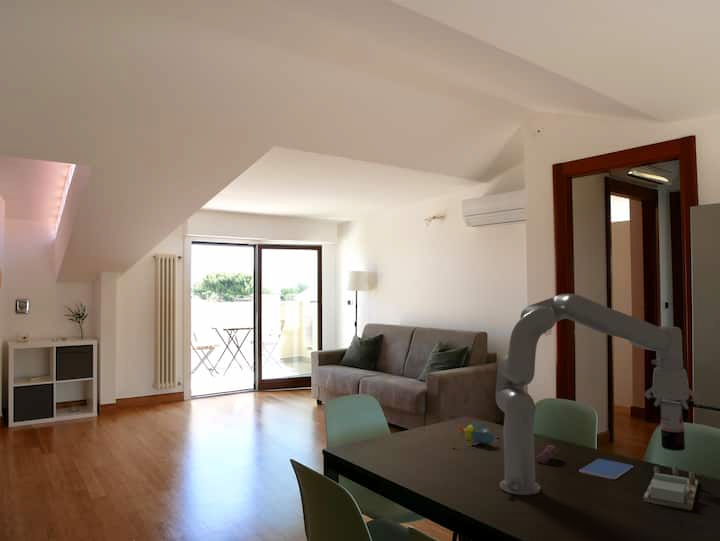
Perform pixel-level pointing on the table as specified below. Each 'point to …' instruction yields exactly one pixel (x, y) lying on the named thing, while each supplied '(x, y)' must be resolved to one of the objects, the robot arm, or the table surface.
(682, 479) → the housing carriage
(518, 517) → the table surface
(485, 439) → the owl figurine
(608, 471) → the tablet computer
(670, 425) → the beverage can
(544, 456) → the video game controller
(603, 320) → the robot arm
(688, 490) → the base board
